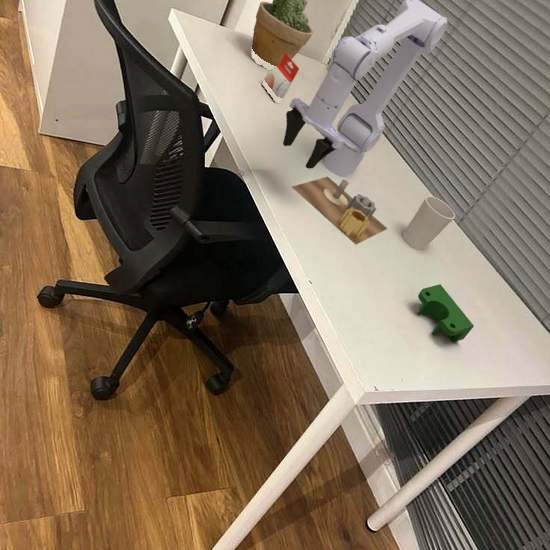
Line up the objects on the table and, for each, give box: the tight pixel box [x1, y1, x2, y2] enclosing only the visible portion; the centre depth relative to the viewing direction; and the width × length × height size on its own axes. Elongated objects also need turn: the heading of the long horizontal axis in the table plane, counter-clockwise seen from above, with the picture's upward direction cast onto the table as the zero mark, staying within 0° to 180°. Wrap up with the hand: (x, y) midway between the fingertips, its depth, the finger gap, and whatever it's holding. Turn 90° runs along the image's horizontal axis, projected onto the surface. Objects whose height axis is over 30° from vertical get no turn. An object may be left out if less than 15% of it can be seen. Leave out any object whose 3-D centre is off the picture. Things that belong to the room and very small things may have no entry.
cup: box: [401, 195, 456, 252], centre depth 130 cm, size 8×8×12 cm
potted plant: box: [251, 0, 314, 66], centre depth 173 cm, size 18×19×25 cm
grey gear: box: [346, 193, 377, 220], centre depth 128 cm, size 6×6×4 cm
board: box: [291, 176, 388, 245], centre depth 127 cm, size 16×20×6 cm
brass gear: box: [338, 207, 370, 239], centre depth 122 cm, size 6×6×4 cm
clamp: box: [416, 283, 475, 343], centre depth 111 cm, size 12×6×9 cm, turn 23°
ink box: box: [263, 53, 300, 99], centre depth 159 cm, size 3×9×12 cm, turn 28°
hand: (297, 156), depth 117 cm, fingers open, 7 cm apart
